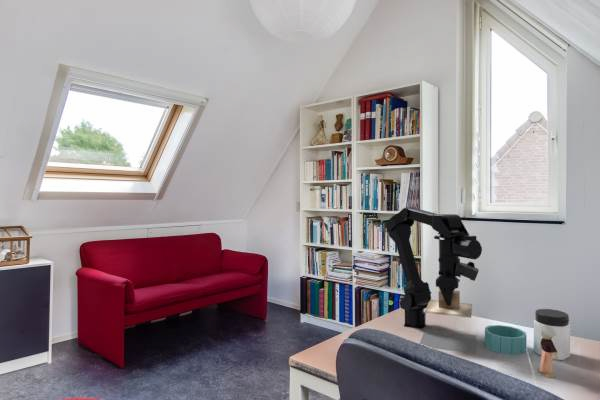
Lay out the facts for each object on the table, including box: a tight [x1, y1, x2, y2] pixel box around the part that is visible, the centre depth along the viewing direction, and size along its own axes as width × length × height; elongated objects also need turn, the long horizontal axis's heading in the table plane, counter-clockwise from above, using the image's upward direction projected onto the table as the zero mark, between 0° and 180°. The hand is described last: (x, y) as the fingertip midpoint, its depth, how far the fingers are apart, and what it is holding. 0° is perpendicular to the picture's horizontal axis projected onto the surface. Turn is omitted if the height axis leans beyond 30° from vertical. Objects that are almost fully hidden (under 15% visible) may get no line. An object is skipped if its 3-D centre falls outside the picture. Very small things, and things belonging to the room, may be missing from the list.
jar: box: [533, 308, 571, 361], centre depth 116 cm, size 9×8×12 cm
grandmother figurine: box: [537, 325, 558, 378], centre depth 103 cm, size 8×4×13 cm, turn 5°
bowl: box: [484, 324, 527, 355], centre depth 121 cm, size 11×11×5 cm
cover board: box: [424, 288, 473, 318], centre depth 126 cm, size 13×13×6 cm
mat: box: [419, 328, 477, 355], centre depth 126 cm, size 16×16×1 cm
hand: (449, 304), depth 126 cm, fingers closed on cover board, 3 cm apart
